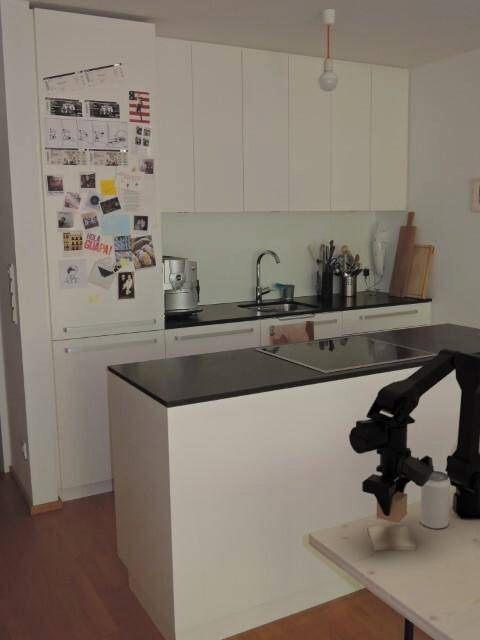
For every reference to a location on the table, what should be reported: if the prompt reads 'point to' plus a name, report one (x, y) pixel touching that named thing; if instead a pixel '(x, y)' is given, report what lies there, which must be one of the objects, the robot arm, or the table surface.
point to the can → (435, 501)
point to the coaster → (390, 538)
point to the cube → (395, 508)
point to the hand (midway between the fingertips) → (391, 511)
